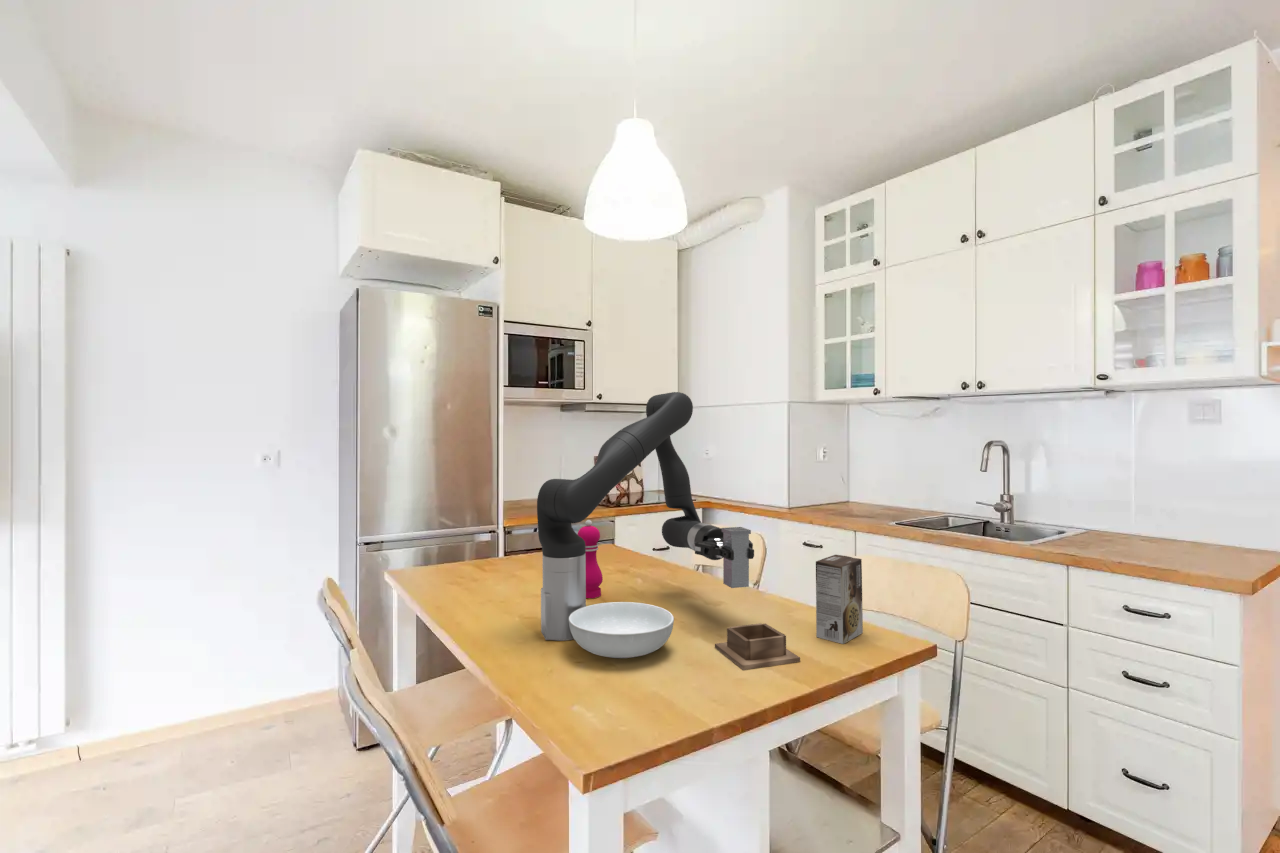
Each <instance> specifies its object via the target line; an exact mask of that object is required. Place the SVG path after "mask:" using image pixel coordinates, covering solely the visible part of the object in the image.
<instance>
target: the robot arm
mask: <svg viewBox="0 0 1280 853" xmlns="http://www.w3.org/2000/svg"><path fill="white" fill-rule="evenodd" d="M647 400H648V401H647V403H646V407H645V413H646V415H645V416H646V417H645V418H642V419H640V420H637V421H635V422H632V423H631V424H629V425H627V426H625V427H623V428H621V429H620V430H618V431H617V432H616V433H614V434H613V435H612V436H610V437H609V438H608V439H607V440H606V441H605V442H604V443H603V444H602V446H601V447H600V448H599V450H598V455H597V459H596V462H595V465H594V466H593V467H591V468H590V469H589V470H588V471H586V472H585V474H583V475H582V476H580V477H578V478H575V479H565V478H564V479H563V478H550V479H548V480H547V481H545V482H543V484H542V485H541V487H540V488H539V491H538V494H537V498H536V499H537V500H536V517H537V531H538V534H537V535H538V540H539V544H540V546H541V551H542V554H541V555H542V587H541V589H540V632H541V634H542V636H543V638H544V640H545V641H559V642H560V641H571V640H575V639H574V638H573V636H572V633H571V630H570V626H569V616H570V615H571V613H573V612H574V611H576V610H578V609H580V608H583V607H586V606H587V599H586V555H585V553H586V547H585V541H584V540H583V539H582V538H581V537H580V536H578V533H577V532H575V530H574V528H573V525H572V524H578V523H581V522H583V521H584V520H587V519H588V517H589V516H590V515H591V514H592V513H593V512H594V510H595V509H596V508H598V506H599V505H600V503H601V502H602V501H604V499H605V498H606V496H607V495H608V494H609V493H610V492H611V491H612V489H614V488H615V487H616V486H617V485H618V484H619V483H620V482H621V481H622V480H623V479H624V478H626V476H627V475H628V474H630V473H631V472H633V471H634V469H635V468H637V467H638V466H639V465H640V464H641V463H642V462H643V461H644V460H645V459H646V458H647V457H648V456H649V455H650V454H652V452H653V451H655V453H656V456H657V459H658V463H659V466H660V471H661V472H660V473H661V479H662V486H663V494H664V501H665V505H666V507H667V508H669V509H675V510H682V512H683V514H684V515H683V516H682V515H681V516H677V517H671V518H668V519H667V520H665V521H663V522H664V523H663V524H662V526H661V535H662V538H663V540H664V541H665V542H666V544H668V546H671V547H675V548H685V549H687V548H688V549H690V550H692V551H694V554H695V555H698V556H702V557H704V558H706V559H708V560H711V561H719V560H722V559H723V558H726V559H728V560H734V551H733V550H732V549H730V548H727V547H724V546H723V532H722V527H718V526H716V525H713V524H709V523H704V522H702V521H701V519H700V517H699V514H698V512H697V510H696V506H695V504H694V501H693V496H692V495H693V494H692V487H691V481H690V475H689V472H688V469H687V467H686V465H685V464H684V462H683V460H682V458H681V457H680V455H679V454H678V452H677V451H676V448H675V447H674V445H673V442H672V438H671V436H672V435H673V434H675V433H676V432H678V431H679V430H681V429H683V427H685V426H686V425H688V423H689V421H690V420H691V419H692V416H693V411H694V404H693V401H692V399H691V397H689V396H688V395H687V394H686V393H684V392H679V391H672V392H666V393H661V394H656V395H652V396H651V397H650V398H649V399H647ZM754 557H755V549H754V543H753V542H752V540H750V539H749V560H753V559H754Z"/></svg>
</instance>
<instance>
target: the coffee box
mask: <svg viewBox="0 0 1280 853" xmlns="http://www.w3.org/2000/svg"><path fill="white" fill-rule="evenodd" d="M862 560H863V559H862V558H856V557H853V556H847V555H842V554H833V555H830V556H827V557H824V558H822V559H818V560H815V595H816V596H815V610H816V611H815V612H816V613H815V616H816V618H815V619H816V624H815V626H816V633H815V634H816V635H815V636H816V638H819V639H822V640H827V641H830V642H834V643H838V644H841V645H844V644H846V643H848V642H850V641H851V640H853V639H855V638H856V637H858V636H860V635H861V634H863V633H864V627H863V626H864V624H863V622H864V621H863V618H864V617H863V614H864V613H863V570H862V569H863V568H862V567H863V566H862V563H863V562H862Z"/></svg>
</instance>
